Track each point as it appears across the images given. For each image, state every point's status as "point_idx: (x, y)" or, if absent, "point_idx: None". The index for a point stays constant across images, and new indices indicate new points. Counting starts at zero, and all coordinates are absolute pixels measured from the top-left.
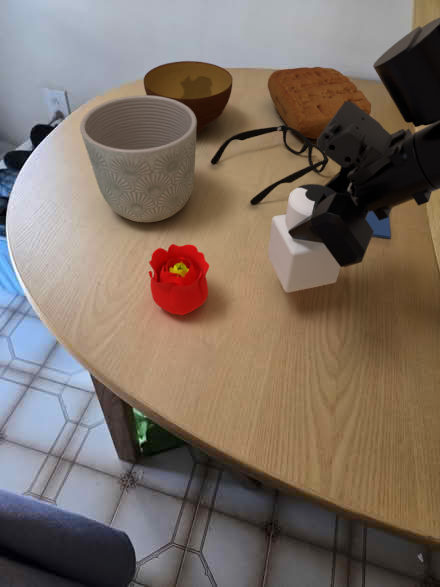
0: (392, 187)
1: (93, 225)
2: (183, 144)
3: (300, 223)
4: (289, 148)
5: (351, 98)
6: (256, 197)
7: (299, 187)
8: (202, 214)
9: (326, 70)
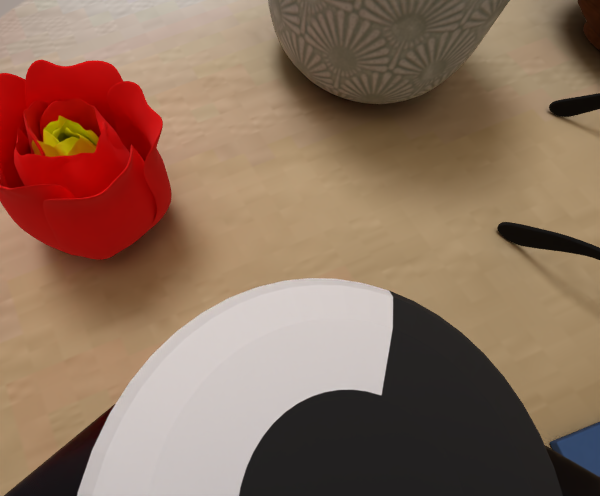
0: None
1: (247, 5)
2: None
3: (38, 489)
4: None
5: None
6: (519, 229)
7: (399, 313)
8: (395, 151)
9: None
